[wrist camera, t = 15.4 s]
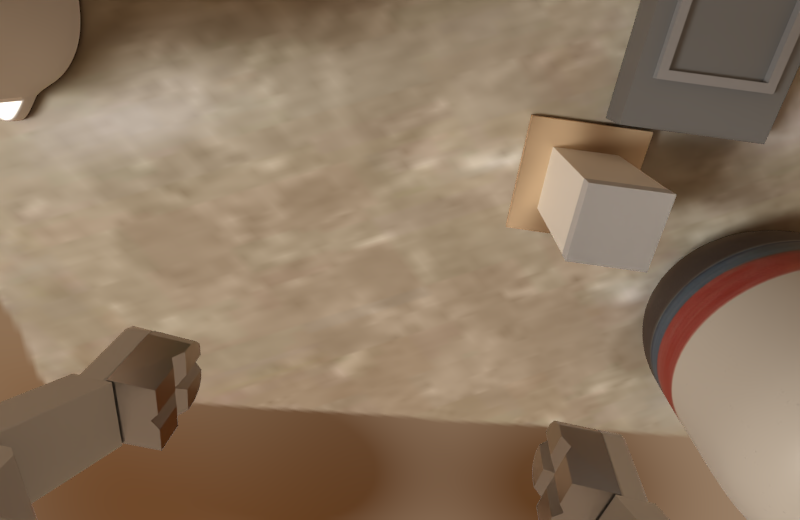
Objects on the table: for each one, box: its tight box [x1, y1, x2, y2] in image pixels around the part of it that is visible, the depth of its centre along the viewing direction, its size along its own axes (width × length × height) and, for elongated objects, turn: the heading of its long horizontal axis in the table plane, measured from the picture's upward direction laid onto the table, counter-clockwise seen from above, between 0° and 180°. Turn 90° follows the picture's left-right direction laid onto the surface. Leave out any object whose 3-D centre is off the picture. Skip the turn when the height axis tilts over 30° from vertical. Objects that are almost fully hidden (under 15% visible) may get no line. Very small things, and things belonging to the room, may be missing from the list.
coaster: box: [506, 115, 653, 233], centre depth 38 cm, size 9×9×1 cm
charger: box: [537, 147, 677, 272], centre depth 33 cm, size 5×5×10 cm
